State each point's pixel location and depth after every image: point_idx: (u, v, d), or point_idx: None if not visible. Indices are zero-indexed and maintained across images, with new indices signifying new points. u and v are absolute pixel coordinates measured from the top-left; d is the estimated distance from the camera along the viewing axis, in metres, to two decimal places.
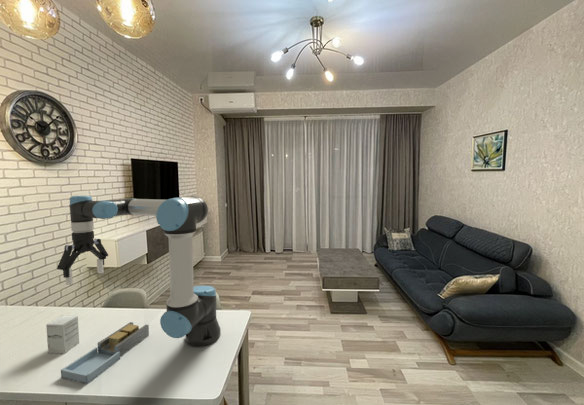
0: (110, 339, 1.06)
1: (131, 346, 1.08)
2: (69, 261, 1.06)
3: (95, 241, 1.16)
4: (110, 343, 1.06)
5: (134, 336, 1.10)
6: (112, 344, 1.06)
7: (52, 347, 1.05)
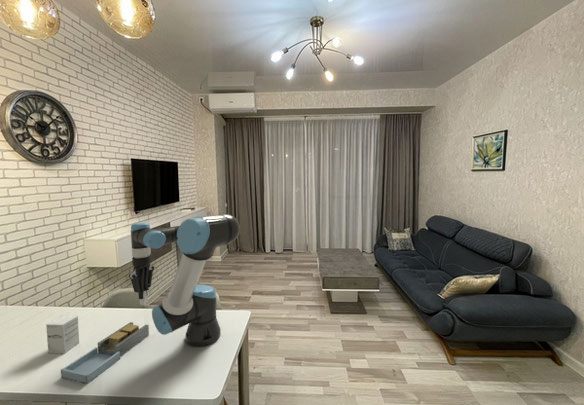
0: (110, 339, 1.06)
1: (131, 346, 1.08)
2: (140, 285, 1.18)
3: (150, 267, 1.24)
4: (110, 343, 1.06)
5: (134, 336, 1.10)
6: (112, 344, 1.06)
7: (52, 347, 1.05)
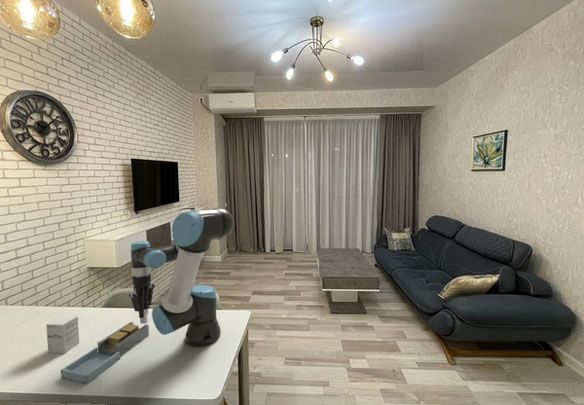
0: (110, 339, 1.06)
1: (131, 346, 1.08)
2: (140, 304, 1.18)
3: (150, 285, 1.24)
4: (110, 343, 1.06)
5: (134, 336, 1.10)
6: (112, 344, 1.06)
7: (52, 347, 1.05)
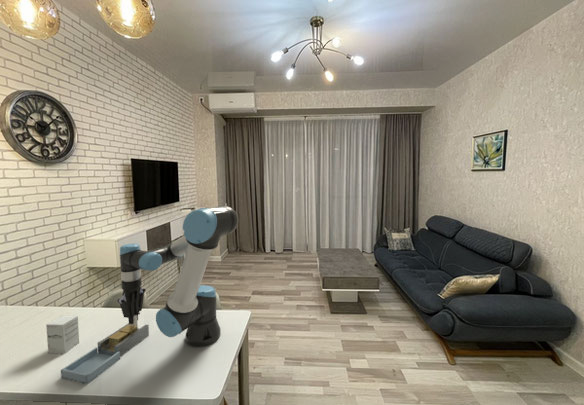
0: (110, 339, 1.06)
1: (131, 346, 1.08)
2: (129, 310, 1.13)
3: (141, 289, 1.19)
4: (110, 343, 1.06)
5: (134, 336, 1.10)
6: (112, 344, 1.06)
7: (52, 347, 1.05)
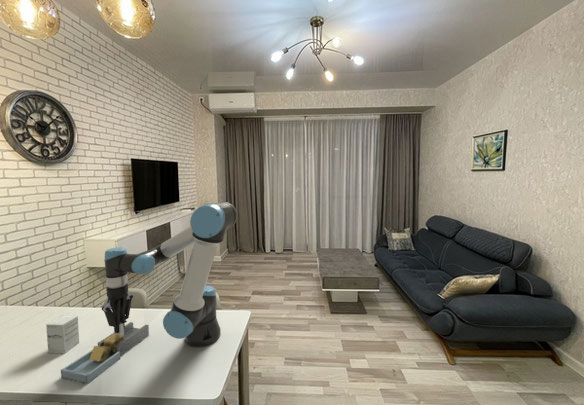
0: None
1: (131, 346, 1.08)
2: (115, 318, 1.06)
3: (128, 296, 1.12)
4: None
5: (134, 336, 1.10)
6: None
7: (52, 347, 1.05)
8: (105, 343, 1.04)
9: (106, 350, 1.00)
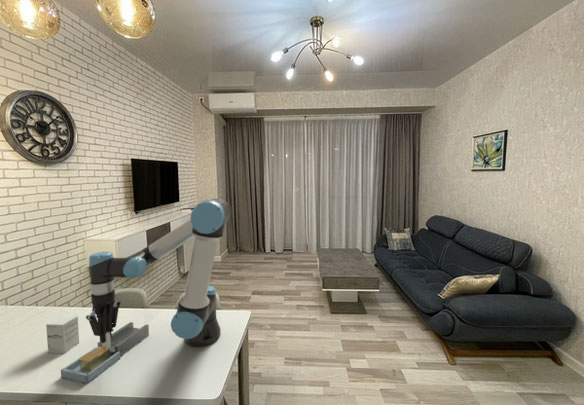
0: None
1: (131, 346, 1.08)
2: (101, 327, 1.00)
3: (115, 303, 1.06)
4: None
5: (134, 336, 1.10)
6: None
7: (52, 347, 1.05)
8: None
9: (93, 360, 0.95)
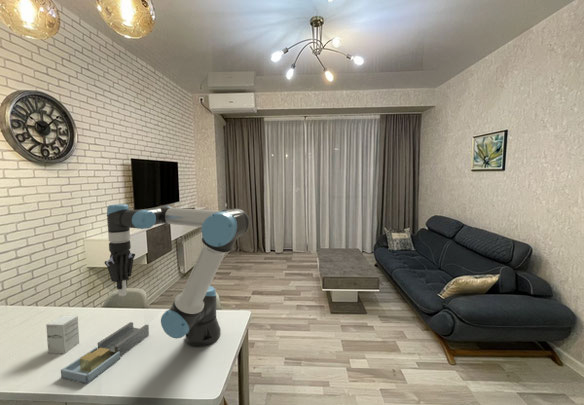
0: None
1: (131, 346, 1.08)
2: (118, 274, 1.07)
3: (130, 254, 1.12)
4: None
5: (134, 336, 1.10)
6: None
7: (52, 347, 1.05)
8: None
9: (94, 360, 0.95)
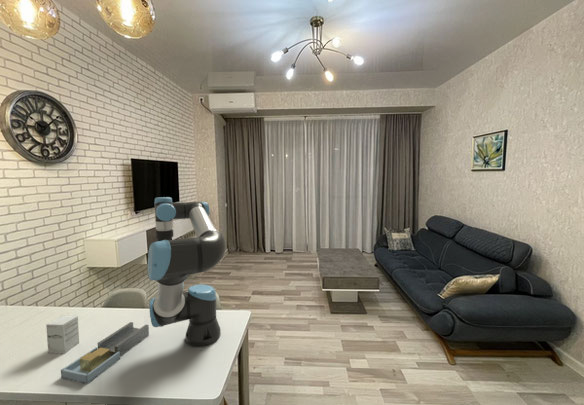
0: None
1: (131, 346, 1.08)
2: None
3: None
4: None
5: (134, 336, 1.10)
6: None
7: (52, 347, 1.05)
8: None
9: (94, 360, 0.95)
